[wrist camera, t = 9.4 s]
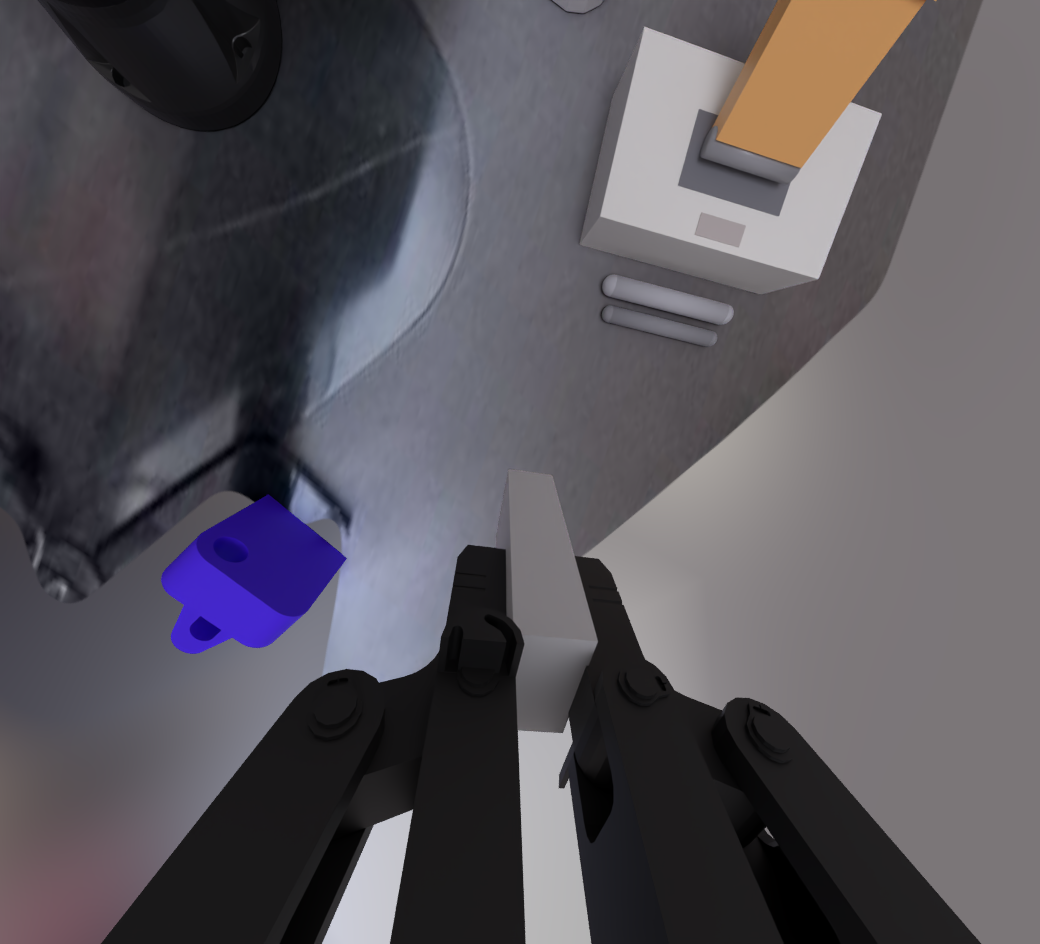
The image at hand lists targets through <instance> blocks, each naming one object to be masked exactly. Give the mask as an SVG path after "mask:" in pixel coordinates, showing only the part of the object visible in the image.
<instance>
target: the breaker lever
mask: <svg viewBox="0 0 1040 944" xmlns="http://www.w3.org/2000/svg"><path fill="white" fill-rule="evenodd" d="M925 1H926V0H778V1H777V3H776V5H775V7H774V9H773V11H772V13H771V15H770V17H769V19H768V21H767V23H766V24H765V26H764V28H763V30H762V32H761V34H760V36H759V38H758V40H757V42H756V44H755V46H754V48H753V50H752V51H751V53H750V55H749V57H748V59H747V61H746V63H745V65H744V67H743V69H742V71H741V73H740V75H739V77H738V78H737V80H736V82H735V84H734V86H733V88H732V90H731V92H730V94H729V96H728V98H727V100H726V102H725V104H724V105H723V107H722V109H721V111H720V113H719V115H718V117H717V119H716V121H715V123H714V125H713V127H712V129H711V130H710V131H709V133H708V135H707V137H706V139H705V141H704V143H703V146H702V149H701V153H700V156H701V158H704V159H707V160H710V161H713V162H717V163H720V164H723V165H726V166H729V167H732V168H735V169H738V170H741V171H744V172H748V173H751V174H754V175H757V176H760V177H763V178H766V179H769V180H772V181H775V182H778V183H782V184H785V185H786V184H789V183H790V182H791V181H792V180H793V179H794V178H795V177H796V176H797V174H798V173H799V171H800V169H801V168H802V167H803V165H804V164H805V163H806V161H807V160H808V159H809V157H810V156H811V155H812V153H813V152H814V151H815V149H816V148H817V147H818V145H819V144H820V143H821V141H822V140H823V139H824V137H825V136H826V134H827V133H828V132H829V130H830V129H831V128H832V126H833V125H834V124H835V122H836V121H837V120H838V118H839V117H840V116H841V114H842V113H843V112H844V110H845V109H846V108H847V106H848V105H849V103H850V102H851V101H852V99H853V98H854V97H855V95H856V94H857V93H858V91H859V90H860V89H861V87H862V86H863V85H864V83H865V82H866V81H867V79H868V78H869V77H870V75H871V74H872V72H873V71H874V70H875V68H876V67H877V66H878V64H879V63H880V62H881V60H882V59H883V58H884V56H885V55H886V54H887V52H888V51H889V50H890V48H891V47H892V46H893V44H894V43H895V41H896V40H897V39H898V37H899V36H900V35H901V33H902V32H903V31H904V29H905V28H906V27H907V25H908V24H909V23H910V21H911V20H912V19H913V17H914V16H915V15H916V13H917V12H918V10H919V9H920V8H921V6H922V5H923V4H924V2H925ZM934 1H936V0H934Z"/></svg>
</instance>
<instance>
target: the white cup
mask: <svg viewBox="0 0 1040 944" xmlns="http://www.w3.org/2000/svg"><path fill="white" fill-rule="evenodd" d="M552 1H554V2H555V3H556V4H558V5H559V6H560V7H561V8H563V9H564V10H565V11H567V12H576V13H586V12H588V11H590V10H592V9H594V8H596V7H598V6H600V5H601V4H602V2H603V1H604V0H552Z"/></svg>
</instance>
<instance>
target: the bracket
mask: <svg viewBox="0 0 1040 944" xmlns="http://www.w3.org/2000/svg"><path fill="white" fill-rule="evenodd" d="M346 559H347V558H346V557H344V556H343V555H342V553H341V552H339V551H338V550H337V549H336V548H334V547H333V546H332V545H331V544H330V543H328V542H327V541H326V540H325V539H323V538H322V537H321V536H320V535H319V534H317V533H316V532H315V531H314V530H312V529H311V528H310V527H309V526H307V525H306V524H304V523H303V522H302V521H300V520H299V519H298V518H297V517H296V516H294V515H293V514H292V513H291V512H289V511H288V510H287V509H286V508H285V507H283V506H282V505H281V504H280V503H278V502H277V501H276V500H275V499H274V498H272V497H271V496H270V495H269V494H268V495H267V496H265V497H263V498H262V499H260V500H258V501H256V502H255V503H253V504H251V505H249V506H248V507H246V508H244V509H242V510H241V511H239V512H237V513H236V514H234V515H232V516H230V517H229V518H227V519H225V520H223V521H222V522H220V523H218V524H216V525H215V526H213V527H211V528H209V529H208V530H206V531H204V532H203V533H201V534H200V535H199V536H198V537H197V538H196V539H195V540H194V541H193V542H192V543H191V544H190V545H189V546H188V547H187V548H186V549H185V550H184V551H183V552H182V553H181V554H180V555H179V556H178V557H177V558H176V559H175V560H174V561H173V562H172V563H171V564H170V565H169V566H168V567H167V568H166V569H165V571H164V572H163V574H162V578H161V582H162V585H163V587H164V589H165V591H166V592H167V593H168V594H169V595H170V596H172V597H173V598H175V599H176V600H178V601H179V602H181V603H182V604H184V607H183V609H182V611H181V613H180V615H179V618H178V620H177V622H176V624H175V627H174V629H173V631H172V634H171V640H172V643H173V644H174V646H175V647H176V648H178V649H179V650H181V651H183V652H185V653H190V654H196V653H200V652H202V651H204V650H206V649H209V648H211V647H213V646H215V645H217V644H219V643H222V642H224V641H226V640H228V639H230V638H234V639H235V640H237V641H239V642H240V643H241V644H243V645H246V646H248V647H253V648H260V647H265V646H268V645H270V644H271V643H273V642H274V641H275V640H276V639H277V638H278V637H279V636H280V635H281V634H283V632H285V631H286V630H287V629H288V628H289V627H290V626H291V625H292V624H293V623H295V622H296V621H297V620H298V619H299V618H300V617H301V616H302V615H304V614H305V613H306V612H307V611H308V610H309V608H310V607H311V606H312V604H313V603H314V602H315V600H316V599H317V598H318V596H319V595H320V594H321V592H322V591H323V590H324V588H325V587H326V586H327V584H328V583H329V582H330V580H331V579H332V577H333V576H334V574H335V573H336V572H337V571H338V569H339V568H340V567H341V565H342V564H343V563H344V561H345V560H346Z"/></svg>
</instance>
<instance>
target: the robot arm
mask: <svg viewBox="0 0 1040 944" xmlns="http://www.w3.org/2000/svg"><path fill="white" fill-rule="evenodd" d="M38 1H39V2H40V3H41V5H42V6H43V7H44V8H45V9H46V11H47V12H48V13H49V14H50V16H51V17H52V18H53V19H54V21H55V22H56V23H57V24H58V25H59V27H60V28H61V29H62V30H63V32H64V33H65V34H66V35H67V36H68V38H69V39H70V40H71V41H72V43H73V44H74V45H75V46H76V47H77V49H78V50H79V51H80V52H81V54H82V55H83V56H84V57H85V58H86V59H87V61H88V62H89V63H90V64H91V65H92V66H93V67H94V68H95V69H96V70H97V71H98V72H99V73H100V74H101V75H102V76H103V77H104V78H105V79H106V80H107V81H109V82H110V83H111V84H112V85H113V86H115V87H116V88H117V89H118V90H120V91H121V92H122V93H124V94H125V95H126V96H128V97H129V98H130V99H132V100H133V101H134V102H136V103H137V104H138V105H140V106H141V107H142V108H144V109H145V110H147V111H148V112H150V113H151V114H153V115H155V116H156V117H158V118H160V119H162V120H164V121H166V122H169V123H171V124H174V125H177V126H180V127H183V128H187V129H193V130H202V131H211V130H219V129H224V128H228V127H231V126H234V125H236V124H238V123H240V122H242V121H244V120H245V119H247V118H248V117H249V116H251V115H252V114H253V113H254V112H255V111H256V110H257V109H258V108H259V107H260V106H261V105H262V104H263V102H264V101H265V99H266V98H267V96H268V95H269V93H270V91H271V89H272V87H273V84H274V82H275V79H276V76H277V73H278V69H279V64H280V57H281V42H282V38H281V24H280V17H279V11H278V7H277V2H276V0H38ZM568 718H569V721H570V726H571V733H572V740H573V743H572V745H571V747H570V750H569V752H568V755H567V757H566V760H565V762H564V764H563V767H562V769H561V772H560V774H559V788H565V785H566V783H567V781H568V779H569V781H570V788H571V795H572V802H573V810H574V818H575V825H576V832H577V840H578V847H579V855H580V862H581V869H582V876H583V883H584V891H585V899H586V906H587V914H588V921H589V929H590V936H591V943H592V944H981V943H980V942H979V941H978V939H976V937H975V936H974V935H973V934H972V933H971V932H970V930H969V929H968V928H967V927H966V926H965V924H964V923H963V922H962V921H961V920H960V919H959V918H958V916H957V915H956V914H955V913H954V912H953V911H952V909H951V908H950V907H949V906H948V905H947V904H946V903H945V901H944V900H943V899H942V898H941V897H940V896H939V894H938V893H937V892H936V891H935V890H934V889H933V888H932V886H930V884H929V883H928V882H927V881H926V879H925V878H924V877H923V876H922V875H921V874H920V872H919V871H918V870H917V869H916V868H915V867H914V866H913V864H912V863H911V862H910V861H909V860H908V859H907V857H906V856H905V855H904V854H903V853H902V852H901V851H900V850H899V848H898V847H897V846H896V845H895V844H894V842H892V840H891V839H890V838H889V837H888V836H887V834H886V833H885V832H884V831H883V830H882V829H881V828H880V826H879V825H878V824H877V823H876V822H875V821H874V819H873V818H872V817H871V816H870V815H869V814H868V812H867V811H866V810H865V809H864V808H863V807H862V805H861V804H860V803H859V802H858V801H857V800H856V799H855V798H854V796H853V795H852V794H851V793H850V792H849V791H848V789H847V788H846V787H845V786H844V785H843V784H842V783H841V781H840V780H839V779H838V778H837V777H836V775H835V774H834V773H833V772H832V771H831V770H830V769H829V767H828V766H827V765H826V764H825V763H824V762H823V760H822V759H821V758H820V757H819V756H818V755H817V754H816V752H815V751H814V750H813V749H812V748H811V747H810V745H809V744H808V743H807V742H806V741H805V740H804V739H803V737H802V736H801V735H800V734H799V733H798V732H797V731H796V729H795V728H794V727H793V726H792V725H790V724H789V723H788V722H787V721H786V720H785V719H784V718H783V717H782V716H781V715H780V714H779V713H777V712H775V711H774V710H773V709H771V708H770V707H768V706H767V705H765V704H763V703H760V702H758V701H755V700H753V699H750V698H735V699H733V700H731V701H730V702H728V703H727V705H726V706H725V707H724V709H723V710H719V709H717V708H714V707H712V706H709V705H707V704H704V703H702V702H699V701H696V700H694V699H691V698H689V697H686V696H684V695H682V694H680V693H678V692H676V691H675V690H674V689H673V687H672V686H671V684H670V682H669V681H668V679H667V677H666V676H665V675H664V674H663V673H662V672H661V671H660V670H659V669H658V668H657V667H656V666H655V665H653V664H652V663H650V662H648V661H647V660H645V658H644V656H643V654H642V651H641V649H640V646H639V644H638V641H637V639H636V636H635V633H634V631H633V628H632V626H631V623H630V620H629V618H628V615H627V613H626V610H625V608H624V605H622V600H621V597H620V595H619V592H617V587H616V584H615V582H614V579H613V577H612V574H611V572H610V571H609V570H608V569H607V568H606V567H605V566H604V565H603V563H601V561H600V560H599V559H594V558H586V557H578V556H574V552H573V549H572V545H571V542H570V538H569V534H568V531H567V527H566V523H565V520H564V516H563V512H562V509H561V505H560V502H559V498H558V494H557V491H556V487H555V483H554V480H553V476H552V475H548V474H541V473H534V472H528V471H521V470H514V469H508V473H507V479H506V484H505V490H504V495H503V501H502V506H501V512H500V517H499V523H498V528H497V533H496V548H491V547H482V546H474V545H467V547H466V548H465V549H464V550H463V551H462V552H461V554H460V555H459V556H458V559H457V564H456V570H455V576H454V582H453V588H452V593H451V599H450V605H449V611H448V616H447V622H446V626H445V629H444V631H443V634H442V636H441V642H440V650H439V652H438V654H437V655H436V657H435V658H434V659H433V660H432V661H431V662H430V663H429V664H428V665H427V666H426V667H424V668H422V669H421V670H419V671H417V672H416V673H413V674H410V675H407V676H405V677H401V678H397V679H393V680H388V681H384V682H380V683H379V682H378V681H377V679H376V678H374V677H373V676H371V675H369V674H367V673H366V672H364V671H359V670H350V669H345V670H340V671H335V672H331V673H328V674H326V675H324V676H322V677H320V678H318V679H317V680H315V681H313V682H311V683H310V684H309V685H308V686H307V687H306V688H304V689H303V690H302V691H301V692H300V693H299V694H298V695H297V696H296V697H295V698H294V699H293V701H292V702H291V703H290V704H289V706H288V707H287V708H286V710H285V711H284V712H283V713H282V715H281V716H280V717H279V718H278V720H277V721H276V722H275V723H274V725H273V726H272V727H271V729H270V730H269V731H268V732H267V734H266V735H265V736H264V737H263V739H262V740H261V741H260V742H259V744H258V745H257V746H256V748H255V749H254V750H253V752H252V753H251V754H250V755H249V756H248V758H247V759H246V760H245V762H244V763H243V764H242V765H241V767H240V768H239V769H238V771H237V772H236V773H235V774H234V776H233V777H232V778H231V779H230V781H229V782H228V783H227V784H226V786H225V787H224V789H223V790H222V791H221V792H220V793H219V795H218V796H217V797H216V798H215V800H214V801H213V802H212V803H211V805H210V806H209V807H208V809H207V810H206V811H205V812H204V814H203V815H202V816H201V817H200V819H199V820H198V821H197V823H196V824H195V825H194V826H193V828H192V829H191V830H190V831H189V833H188V834H187V835H186V837H185V838H184V839H183V840H182V842H181V843H180V844H179V845H178V847H177V848H176V849H175V850H174V852H173V853H172V854H171V856H170V857H169V858H168V859H167V861H166V862H165V863H164V864H163V866H162V867H161V868H160V869H159V871H158V872H157V873H156V875H155V876H154V877H153V878H152V880H151V881H150V882H149V883H148V885H147V886H146V887H145V888H144V890H143V891H142V892H141V894H140V895H139V896H138V897H137V899H136V900H135V901H134V903H133V904H132V905H131V906H130V908H129V909H128V910H127V911H126V913H125V914H124V915H123V917H122V918H121V919H120V920H119V922H118V923H117V924H116V925H115V927H114V928H113V929H112V931H111V932H110V933H109V934H108V935H107V937H106V938H105V939H104V941H103V942H102V943H101V944H322V942H323V940H324V937H325V935H326V933H327V931H328V928H329V926H330V924H331V921H332V919H333V917H334V915H335V912H336V910H337V908H338V905H339V903H340V901H341V899H342V896H343V894H344V892H345V889H346V887H347V885H348V882H349V880H350V878H351V875H352V873H353V871H354V869H355V867H356V864H357V862H358V860H359V857H360V855H361V853H362V851H363V848H364V846H365V844H366V841H367V839H368V837H369V834H370V832H371V830H372V828H373V825H374V824H377V823H379V822H382V821H385V820H387V819H390V818H392V817H395V816H397V815H400V814H403V813H405V812H408V811H410V810H412V809H413V813H412V819H411V825H410V831H409V837H408V842H407V848H406V854H405V860H404V866H403V871H402V877H401V883H400V889H399V894H398V900H397V906H396V912H395V918H394V924H393V929H392V935H391V941H390V944H525V919H524V891H523V890H524V889H523V864H522V837H521V810H520V809H521V808H520V783H519V782H520V780H519V753H518V730H523V731H538V732H554V733H563V731H564V728H565V726H566V723H567V720H568ZM766 827H767V828H768V830H769V831H770V833H771V835H772V836H773V838H774V839H775V840H774V839H773V838H772V837H771V836H770V835H768V834H767V832H766V831H765V830H764V829H765V828H766Z"/></svg>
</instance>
